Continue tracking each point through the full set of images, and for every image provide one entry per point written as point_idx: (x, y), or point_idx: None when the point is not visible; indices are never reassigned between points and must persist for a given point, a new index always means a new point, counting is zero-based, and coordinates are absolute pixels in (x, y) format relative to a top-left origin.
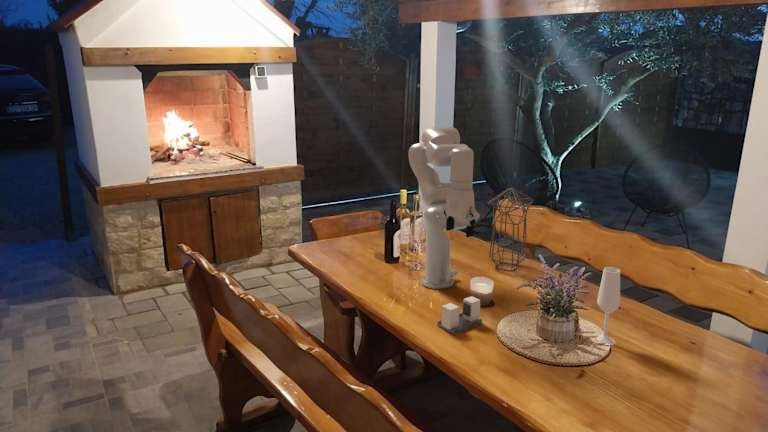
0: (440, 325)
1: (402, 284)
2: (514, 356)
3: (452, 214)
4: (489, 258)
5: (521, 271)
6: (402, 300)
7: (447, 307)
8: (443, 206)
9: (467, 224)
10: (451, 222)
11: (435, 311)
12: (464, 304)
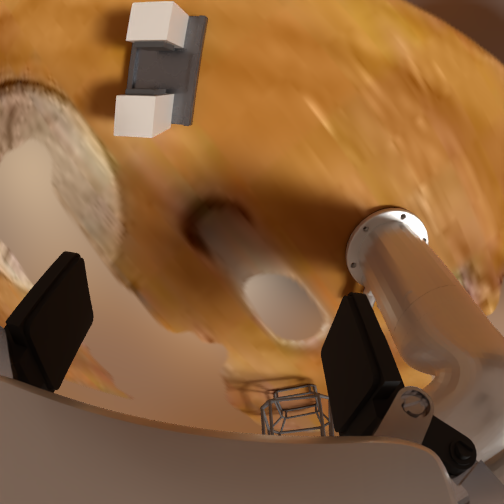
0: (193, 16)
1: (455, 183)
2: (7, 70)
3: (233, 481)
4: (328, 396)
5: (261, 397)
6: (400, 89)
7: (150, 7)
8: (494, 498)
9: (6, 342)
10: (345, 384)
11: (277, 85)
12: (149, 89)
